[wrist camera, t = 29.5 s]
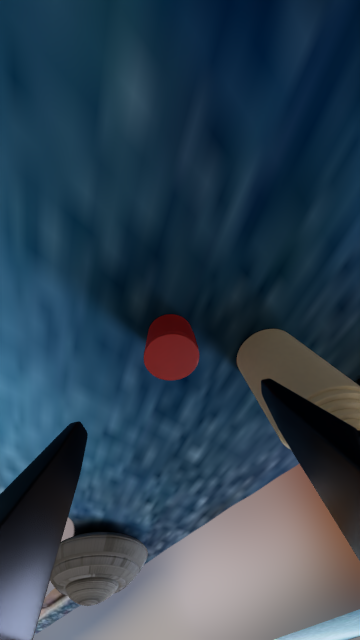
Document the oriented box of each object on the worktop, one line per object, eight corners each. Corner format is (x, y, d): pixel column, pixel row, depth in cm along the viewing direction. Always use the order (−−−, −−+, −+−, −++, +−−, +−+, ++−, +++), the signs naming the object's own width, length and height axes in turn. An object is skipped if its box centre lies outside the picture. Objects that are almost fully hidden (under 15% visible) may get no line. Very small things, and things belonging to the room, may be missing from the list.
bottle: (294, 371, 18) (469, 546, 8) (239, 384, 18) (339, 574, 8) (295, 321, 16) (546, 474, 5) (233, 336, 16) (362, 514, 6)
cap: (189, 309, 15) (195, 328, 11) (195, 348, 16) (203, 374, 13) (142, 319, 15) (136, 340, 11) (154, 356, 16) (151, 385, 13)
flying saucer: (36, 555, 29) (10, 620, 24) (76, 512, 25) (55, 579, 20) (120, 567, 34) (112, 623, 29) (166, 531, 30) (166, 591, 25)
